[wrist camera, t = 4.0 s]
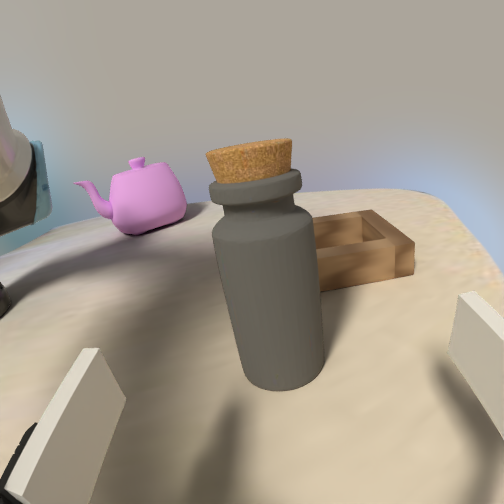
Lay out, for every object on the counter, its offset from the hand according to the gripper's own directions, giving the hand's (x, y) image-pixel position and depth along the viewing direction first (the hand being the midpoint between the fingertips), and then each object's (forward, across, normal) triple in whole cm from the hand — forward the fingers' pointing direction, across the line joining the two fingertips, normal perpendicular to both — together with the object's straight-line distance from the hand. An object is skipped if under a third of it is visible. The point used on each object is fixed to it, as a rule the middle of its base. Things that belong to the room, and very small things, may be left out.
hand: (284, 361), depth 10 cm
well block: (+25, +8, -8) cm, 28 cm away
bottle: (+9, 0, -9) cm, 13 cm away
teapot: (+57, -25, -9) cm, 63 cm away
